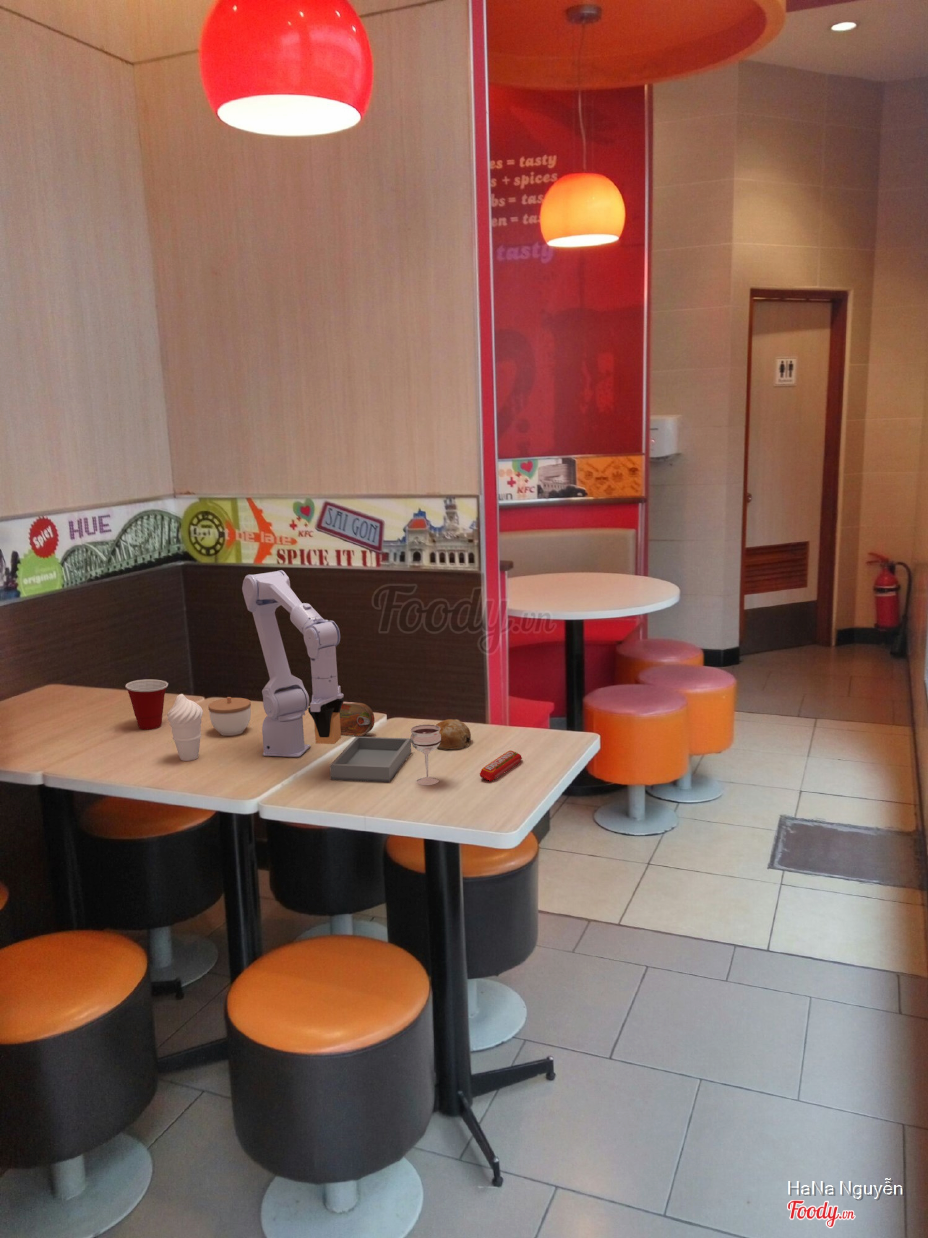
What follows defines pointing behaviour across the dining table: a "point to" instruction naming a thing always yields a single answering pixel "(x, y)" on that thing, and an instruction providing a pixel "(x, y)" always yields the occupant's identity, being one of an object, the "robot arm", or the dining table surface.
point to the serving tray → (371, 759)
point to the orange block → (334, 731)
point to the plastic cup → (147, 702)
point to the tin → (356, 719)
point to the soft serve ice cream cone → (186, 727)
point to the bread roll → (453, 735)
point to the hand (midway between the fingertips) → (328, 733)
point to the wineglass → (426, 746)
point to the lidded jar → (230, 715)
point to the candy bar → (500, 765)
